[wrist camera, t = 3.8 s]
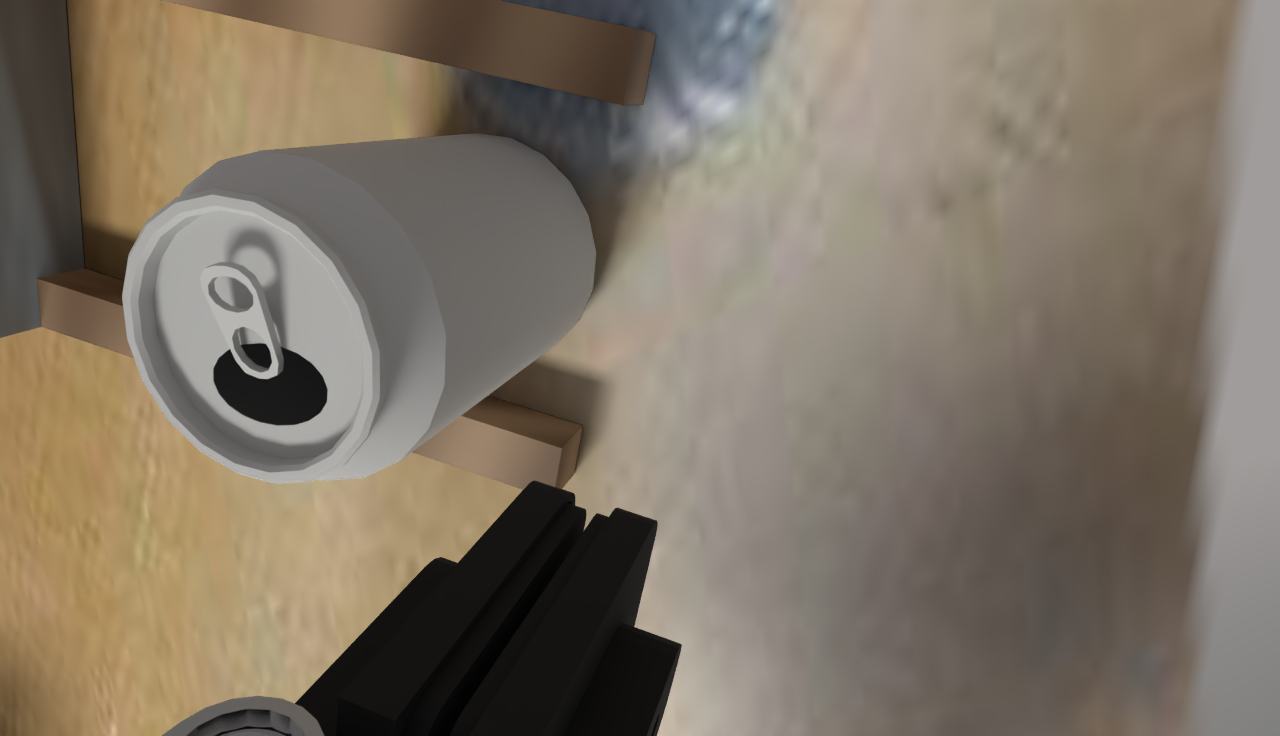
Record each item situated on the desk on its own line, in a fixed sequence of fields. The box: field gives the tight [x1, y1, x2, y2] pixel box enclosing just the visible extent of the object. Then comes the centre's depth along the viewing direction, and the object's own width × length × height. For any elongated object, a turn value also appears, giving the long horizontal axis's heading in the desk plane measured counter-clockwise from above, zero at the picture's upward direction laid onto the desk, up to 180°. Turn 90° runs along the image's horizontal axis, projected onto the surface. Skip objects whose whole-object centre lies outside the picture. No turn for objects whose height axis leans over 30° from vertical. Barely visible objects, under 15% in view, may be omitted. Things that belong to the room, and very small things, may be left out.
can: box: [122, 133, 596, 484], centre depth 21 cm, size 8×8×12 cm
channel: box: [0, 0, 656, 490], centre depth 26 cm, size 24×15×4 cm, turn 79°
